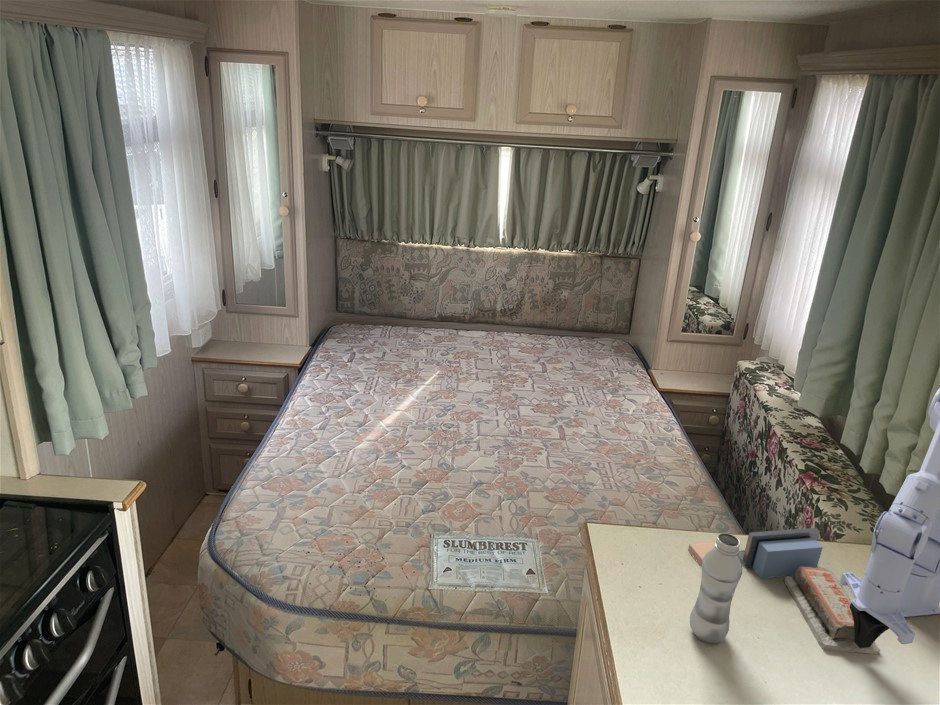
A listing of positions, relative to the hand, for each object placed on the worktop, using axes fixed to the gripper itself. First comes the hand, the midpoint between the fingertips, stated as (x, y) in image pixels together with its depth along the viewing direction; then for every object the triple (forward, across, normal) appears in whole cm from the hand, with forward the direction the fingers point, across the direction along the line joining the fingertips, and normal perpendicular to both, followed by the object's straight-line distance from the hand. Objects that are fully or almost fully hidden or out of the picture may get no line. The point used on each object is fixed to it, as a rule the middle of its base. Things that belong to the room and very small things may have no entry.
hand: (862, 644), depth 117 cm
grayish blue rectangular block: (+3, -22, 0) cm, 22 cm away
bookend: (+3, -26, 0) cm, 26 cm away
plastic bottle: (+3, -8, -24) cm, 25 cm away
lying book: (+3, -28, -12) cm, 31 cm away
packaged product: (+3, -10, +1) cm, 10 cm away
